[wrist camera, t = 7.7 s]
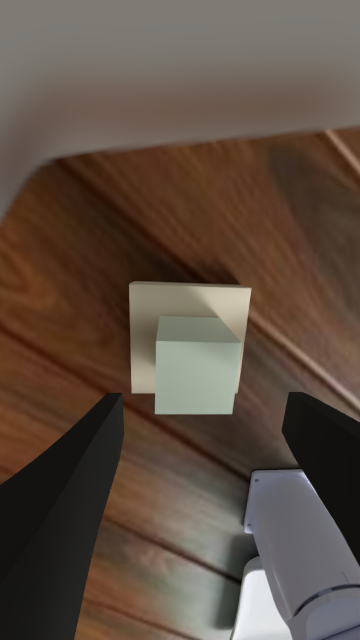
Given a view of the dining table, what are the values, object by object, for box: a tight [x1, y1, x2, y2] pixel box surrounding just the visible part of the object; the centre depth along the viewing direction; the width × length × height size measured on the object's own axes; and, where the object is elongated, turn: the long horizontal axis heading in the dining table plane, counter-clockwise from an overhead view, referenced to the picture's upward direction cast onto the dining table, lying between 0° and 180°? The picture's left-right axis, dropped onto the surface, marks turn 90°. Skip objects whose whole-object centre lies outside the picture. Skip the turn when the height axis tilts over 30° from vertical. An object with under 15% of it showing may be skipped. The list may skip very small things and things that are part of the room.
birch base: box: [129, 281, 251, 393], centre depth 18 cm, size 9×9×3 cm
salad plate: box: [230, 556, 293, 640], centre depth 29 cm, size 21×21×3 cm
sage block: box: [155, 316, 242, 414], centre depth 14 cm, size 5×5×5 cm
